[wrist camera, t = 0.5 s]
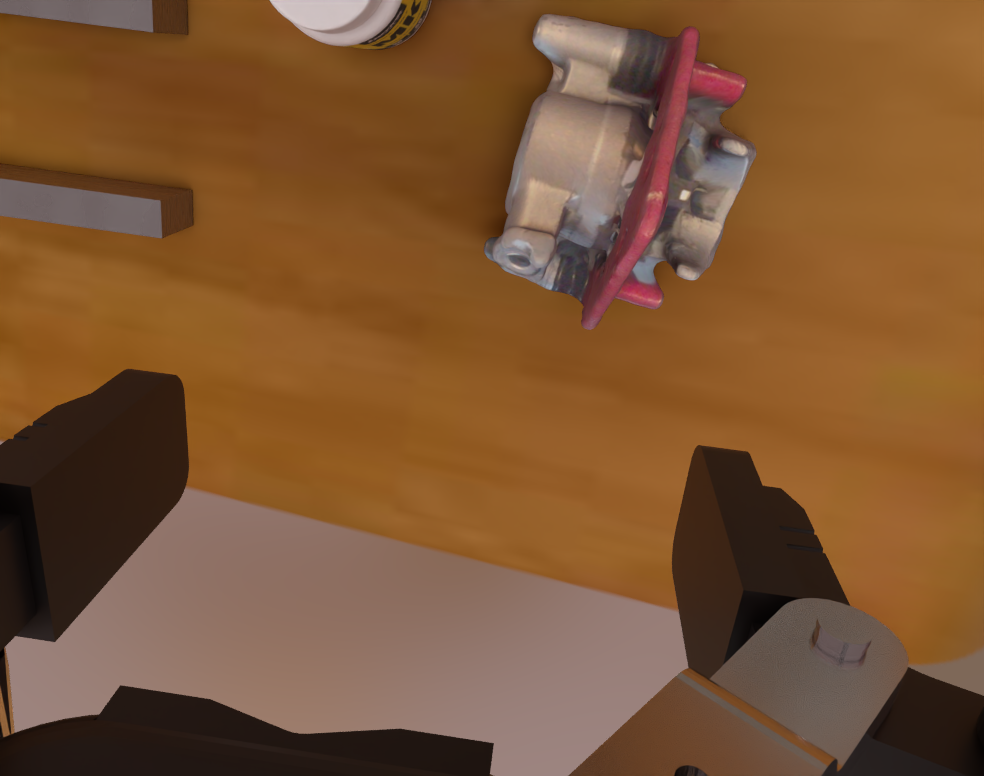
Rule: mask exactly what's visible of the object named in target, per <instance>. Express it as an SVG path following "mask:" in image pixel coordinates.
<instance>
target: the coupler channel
mask: <svg viewBox="0 0 984 776" xmlns="http://www.w3.org/2000/svg"><path fill="white" fill-rule="evenodd" d="M0 13H7V14H15V15H22V16H30V17H38V18H46V19H54V20H61V21H69V22H77V23H85V24H92V25H100V26H108V27H116V28H124V29H131V30H139V31H147V32H156V33H171V34H185V35H188V21H187V0H0ZM0 216H7V217H14V218H21V219H28V220H36V221H43V222H50V223H57V224H64V225H71V226H78V227H85V228H92V229H99V230H107V231H114V232H121V233H128V234H135V235H142V236H149V237H156V238H164V237H166V236H169V235H171V234H173V233H176V232H178V231H180V230H183V229H185V228H187V227H190V226H192V225H193V202H192V190H188V189H181V188H173V187H166V186H159V185H152V184H144V183H137V182H130V181H123V180H115V179H108V178H101V177H94V176H86V175H79V174H72V173H64V172H57V171H50V170H43V169H35V168H28V167H21V166H14V165H6V164H0Z"/></svg>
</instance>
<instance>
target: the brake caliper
mask: <svg viewBox="0 0 984 776" xmlns="http://www.w3.org/2000/svg"><path fill="white" fill-rule="evenodd" d="M699 41H700V36H699V32H698V30H697V29H696V28H695V27H690V26H689V27H686V28H685V29H684V30H683V31H682V32H681V34H680V35H679V36H678V37H670V38H666V37H661V36H658V35H655V34H653V33H651V32H649V31H646V30H639V29H627V28H621V27H616V26H610V25H606V24H603V23H599V22H593V21H587V20H583V19H579V18H576V17H571V16H559V15H553V14H545V15H542V17H541V18H540V19H539V20H538V22H537V24H536V26H535V28H534V32H533V44H534V46H535V47H536V48H537V49H538V50H539V51H540V52H542V53H543V54H544V55H545V56H546V57H547V58H548V59H549V60H550V61H551V63H552V65H553V70H554V72H553V76H552V79H551V81H550V83H549V85H548V88H547V92H545V93H543V94H541V95H540V96H539V97H538V98H537V99H536V100H535V101H534V103H533V105H532V107H531V110H530V114H529V117H528V119H527V122H526V125H525V128H524V132H523V135H522V138H521V142H520V145H519V148H518V151H517V154H516V157H515V161H514V166H513V171H512V177H511V182H510V186H509V189H508V192H507V197H506V201H505V208H506V212H507V214H508V218H507V220H506V223H505V227H504V232H503V234H502V235H501V236H500V237H491V238H489V239H488V240H487V241H486V243H485V246H484V252H485V254H486V256H487V258H489V259H490V260H492V261H494V262H495V263H497V264H498V265H499V266H500V267H501V268H502V269H503V270H505V271H506V272H509V273H511V274H514V275H517V276H520V277H523V278H526V279H528V280H529V281H531V282H534V283H537V284H538V285H540V286H542V287H544V288H546V289H548V290H552V291H556V292H562V293H566V294H569V295H572V296H573V297H575V298H577V299H578V300H579V301H580V302H581V303H582V304H583V306H584V308H583V311H582V320H581V324H582V326H583V327H584V328H586V329H588V330H590V329H593V328H595V327H596V326H597V325H598V323H599V322H600V320H601V318H602V315H603V313H604V312H605V311H606V309H607V308H608V306H609V305H610V303H611V302H612V301H613V299H614V298H617V299H621V300H624V301H627V302H629V303H632V304H635V305H639V306H642V307H647V308H650V309H657V308H659V307H660V306H661V304H662V302H663V299H664V294H663V292H662V290H661V289H660V287H659V285H658V283H657V281H656V279H655V277H654V273H653V270H654V267H655V265H656V264H657V263H659V262H661V261H667V262H668V263H669V264H670V265H671V266H672V267H673V269H674V270H675V273H676V274H677V275H678V276H680V277H681V278H684V279H687V280H696V279H698V278H699V276H701V274H702V273H703V272H704V271H705V269H707V268H709V267H710V265H711V263H712V261H713V258H714V255H715V252H716V249H717V247H718V245H719V243H720V241H721V238H722V234H723V228H724V223H725V220H726V217H727V215H728V212H729V210H730V209H731V207H732V205H733V202H734V200H735V198H736V196H737V194H738V193H739V191H740V189H741V187H742V185H743V183H744V181H745V179H746V176H747V173H748V171H749V168H750V166H751V164H752V162H753V161H754V159H755V157H756V149H755V146H754V144H753V143H752V142H750V141H747V140H744V139H742V138H740V137H738V136H737V135H735V134H733V133H731V132H730V131H728V130H726V129H725V128H724V127H723V126H722V125H721V123H720V115H721V114H722V113H723V112H724V111H725V110H727V109H729V108H731V107H732V106H733V105H734V104H735V103H736V102H737V101H738V100H739V99H740V98H741V97H742V95H743V93H744V91H745V89H746V85H747V80H746V79H745V78H744V77H743V76H741V75H739V74H736V73H733V72H729V71H725V70H722V69H719V68H718V67H717V66H716V65H714V64H713V63H703V62H700V61H697V60H695V59H696V55H697V51H698V46H699Z"/></svg>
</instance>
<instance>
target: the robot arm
mask: <svg viewBox="0 0 984 776" xmlns="http://www.w3.org/2000/svg"><path fill="white" fill-rule="evenodd" d="M188 471H189V459H188V443H187V428H186V412H185V397H184V388H183V384H182V382H181V380H180V378H179V377H178V376H176V375H172V374H164V373H156V372H149V371H141V370H134V369H126V370H124V371H122V372H121V373H120V374H118V375H117V376H115V377H114V378H112V379H111V380H110V381H108V382H107V383H105V384H104V385H103V386H101V387H100V388H98V389H97V390H96V391H94V392H93V393H91V394H88V395H86V396H83V397H80V398H77V399H75V400H72V401H69V402H67V403H64V404H61V405H58V406H56V407H54V408H53V409H52V410H50V411H49V412H47V413H46V414H44V415H43V416H41V417H40V418H38V419H37V420H36V421H34V422H33V425H32V426H29V425H28V426H27V427H25V428H24V429H23V430H21V431H20V432H18V433H17V434H15V435H14V438H13V439H8V440H7V441H5V442H4V443H2V444H1V445H0V776H493V775H491V774H490V768H491V761H492V753H493V745H494V743H488V742H482V741H475V740H469V739H463V738H456V737H450V736H443V735H437V734H430V733H424V732H417V731H411V730H405V729H387V730H369V731H351V732H333V733H315V734H298V733H292V732H289V731H286V730H284V729H281V728H279V727H277V726H274V725H272V724H269V723H267V722H264V721H262V720H259V719H257V718H255V717H252V716H250V715H247V714H245V713H242V712H240V711H237V710H235V709H233V708H230V707H228V706H225V705H223V704H220V703H218V702H215V701H213V700H211V699H204V698H198V697H192V696H186V695H179V694H173V693H166V692H160V691H153V690H146V689H140V688H134V687H128V686H120V687H119V688H118V690H117V691H116V692H115V694H114V695H113V696H112V698H111V699H110V701H109V702H108V703H107V705H106V706H105V707H104V709H103V710H102V712H101V713H100V714H99V715H88V716H81V717H75V718H68V719H62V720H58V721H54V722H49V723H45V724H41V725H38V726H35V727H32V728H29V729H25V730H22V731H19V732H16V733H15V729H14V719H13V707H12V696H11V686H10V673H9V664H8V659H7V653H6V648H5V646H6V645H7V644H8V643H9V642H10V641H11V640H12V639H13V638H14V637H15V636H20V637H26V638H32V639H39V640H45V641H52V642H55V641H56V640H57V639H58V638H59V637H60V636H61V635H62V634H63V632H64V631H65V630H66V629H67V628H68V627H69V626H70V624H71V623H72V622H73V621H74V620H75V619H76V617H78V615H79V614H80V613H81V612H82V611H83V610H84V609H85V607H86V606H87V605H88V604H89V603H90V602H91V601H92V599H93V598H94V597H95V596H96V595H97V594H98V593H99V592H100V590H101V589H102V588H103V587H104V586H105V585H106V584H107V582H108V581H109V580H110V579H111V578H112V577H113V575H114V574H115V573H116V572H117V571H118V570H119V569H120V568H121V567H122V565H123V564H124V563H125V562H126V561H127V560H128V558H129V557H130V556H131V555H132V554H133V553H134V552H135V551H136V549H137V548H138V547H139V546H140V545H141V544H142V543H143V542H144V540H145V539H146V538H147V537H148V536H149V535H150V533H151V532H152V531H153V530H154V529H155V528H156V527H157V526H158V525H159V523H160V522H161V521H162V520H163V519H164V518H165V516H166V515H167V514H168V513H169V512H170V511H171V510H172V509H173V507H174V506H175V505H176V504H177V503H178V501H179V500H180V498H181V496H182V494H183V492H184V489H185V486H186V483H187V478H188ZM672 573H673V579H674V585H675V591H676V597H677V603H678V609H679V614H680V620H681V626H682V632H683V638H684V644H685V649H686V656H687V661H688V667H689V668H688V669H685V670H683V671H682V672H680V673H679V674H678V675H677V676H676V677H674V678H673V679H672V680H671V681H670V682H669V683H668V684H667V685H666V686H665V687H664V688H663V689H662V690H660V691H659V692H658V693H657V694H656V695H655V696H654V697H653V698H652V699H651V700H650V701H649V702H647V704H645V705H644V706H643V707H642V708H641V709H640V710H639V711H638V712H637V713H636V714H635V715H633V716H632V717H631V718H630V719H629V720H628V721H627V722H626V723H625V724H624V725H623V726H622V727H620V729H618V730H617V731H616V732H615V733H614V734H613V735H612V736H611V737H610V738H609V739H608V740H606V741H605V742H604V743H603V745H601V746H600V747H599V748H598V749H597V750H596V751H595V752H594V753H593V754H591V756H589V757H588V758H587V759H586V760H585V761H584V762H583V763H582V764H581V765H580V766H578V767H577V768H576V770H574V771H573V772H572V773H571V774H570V775H569V776H984V696H982V695H980V694H977V693H974V692H971V691H968V690H966V689H962V688H960V687H957V686H954V685H951V684H948V683H945V682H943V681H940V680H937V679H934V678H932V677H929V676H927V675H924V674H922V673H920V672H918V671H915V670H913V669H911V668H909V667H908V661H909V660H908V656H907V652H906V650H905V648H904V646H903V644H902V643H901V642H900V640H899V639H898V638H897V637H896V635H895V634H894V633H893V632H892V631H891V630H890V629H888V628H887V627H886V626H885V625H884V624H882V623H881V622H879V621H878V620H877V619H875V618H874V617H872V616H870V615H868V614H866V613H865V612H863V611H861V610H858V609H856V608H854V607H852V606H850V604H849V602H848V600H847V598H846V596H845V594H844V592H843V590H842V588H841V585H840V583H839V581H838V579H837V577H836V575H835V573H834V571H833V569H832V567H831V564H830V562H829V560H828V558H827V556H826V554H825V553H823V548H822V546H821V543H820V541H819V539H818V537H817V535H814V529H813V527H812V525H811V522H810V520H809V518H808V516H807V514H806V512H805V510H804V508H802V507H801V506H800V505H799V504H798V503H797V502H796V501H795V500H793V499H792V498H791V497H790V496H789V495H788V494H787V493H786V492H784V491H783V490H782V489H781V488H775V487H767V486H763V485H762V483H761V481H760V478H759V476H758V473H757V471H756V468H755V466H754V463H753V461H752V459H751V456H750V454H749V453H748V452H746V451H738V450H731V449H723V448H716V447H708V446H701V445H698V446H697V447H696V449H695V450H694V453H693V456H692V460H691V464H690V468H689V473H688V477H687V482H686V486H685V491H684V495H683V499H682V504H681V508H680V513H679V517H678V522H677V526H676V531H675V536H674V543H673V552H672Z"/></svg>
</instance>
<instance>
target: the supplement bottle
mask: <svg viewBox="0 0 984 776" xmlns="http://www.w3.org/2000/svg"><path fill="white" fill-rule="evenodd" d="M431 1H432V0H270V2H271V3H272V5H273V6H274V7H275V8H276V9H277V10H278V11H279V12H280V13H281V14H282V15H283V16H284V17H285V18H287V19H288V20H289V21H291V22H292V23H293V24H294V25H295V26H296V27H297V28H298V29H300V30H301V31H302V32H303V33H305V34H306V35H308V36H309V37H311V38H313V39H315V40H317V41H319V42H322V43H325V44H329V45H334V46H342V47H352V48H362V49H370V50H381V49H386V48H391V47H394V46H397V45H399V44H401V43H403V42H405V41H406V40H408V39H409V38H410V37H411V36H413V35H414V34H415V33H416V32H417V31H418V29H419V28H420V27H421V25H422V24H423V22H424V20H425V18H426V16H427V14H428V11H429V8H430V5H431Z"/></svg>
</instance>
